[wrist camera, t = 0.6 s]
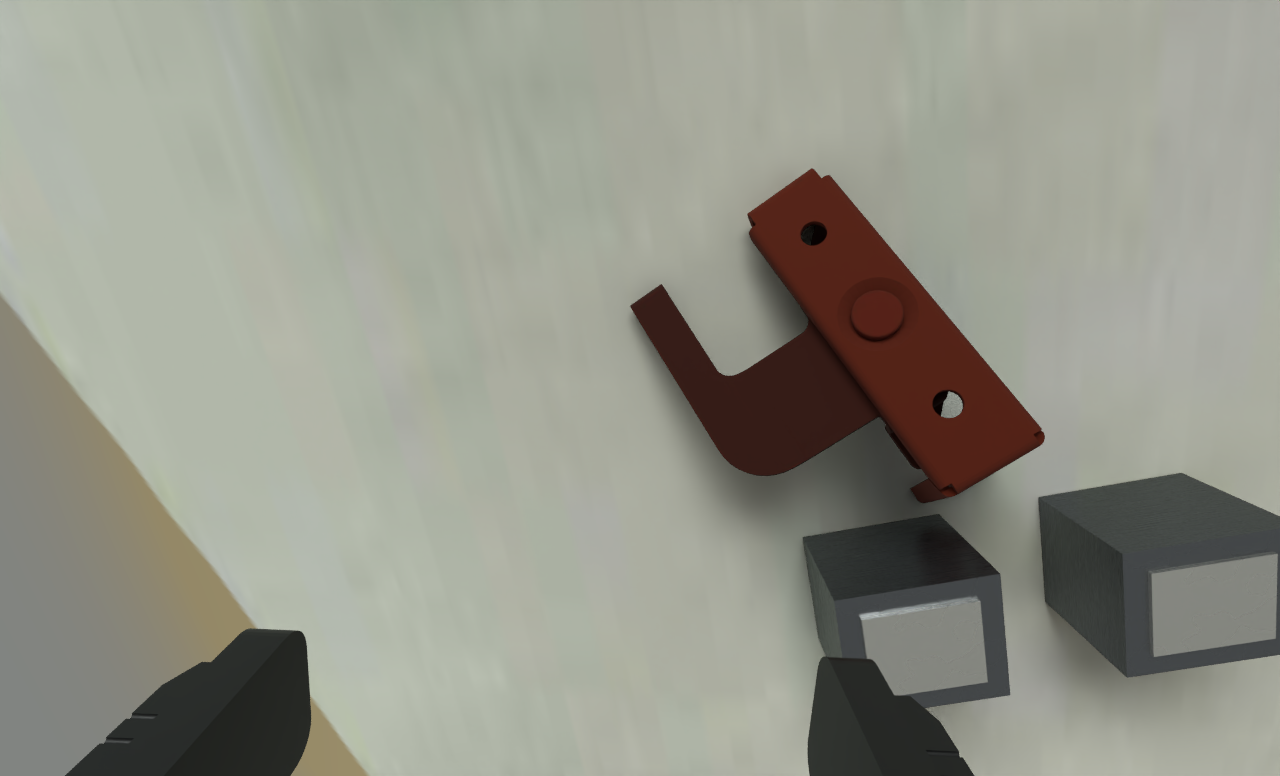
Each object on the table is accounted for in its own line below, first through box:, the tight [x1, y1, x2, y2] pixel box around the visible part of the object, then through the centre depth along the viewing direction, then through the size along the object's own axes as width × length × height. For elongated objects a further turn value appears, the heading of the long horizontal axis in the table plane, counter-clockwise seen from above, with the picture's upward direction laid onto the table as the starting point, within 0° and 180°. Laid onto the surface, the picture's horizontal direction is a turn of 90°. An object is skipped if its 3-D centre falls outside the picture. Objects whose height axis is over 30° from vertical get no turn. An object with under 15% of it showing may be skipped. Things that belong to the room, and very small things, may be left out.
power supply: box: [803, 514, 1010, 708], centre depth 31 cm, size 7×6×6 cm
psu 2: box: [1039, 473, 1280, 677], centre depth 30 cm, size 7×6×6 cm
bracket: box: [630, 169, 1045, 503], centre depth 31 cm, size 10×14×10 cm
